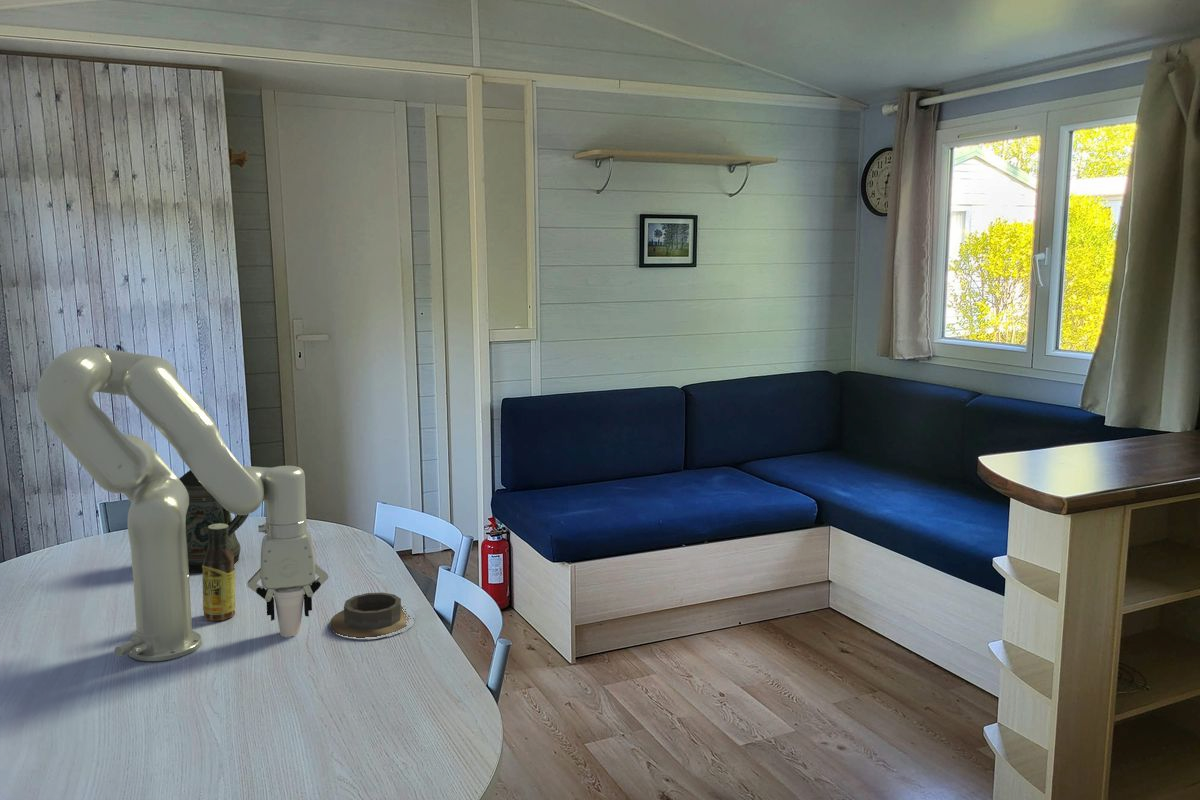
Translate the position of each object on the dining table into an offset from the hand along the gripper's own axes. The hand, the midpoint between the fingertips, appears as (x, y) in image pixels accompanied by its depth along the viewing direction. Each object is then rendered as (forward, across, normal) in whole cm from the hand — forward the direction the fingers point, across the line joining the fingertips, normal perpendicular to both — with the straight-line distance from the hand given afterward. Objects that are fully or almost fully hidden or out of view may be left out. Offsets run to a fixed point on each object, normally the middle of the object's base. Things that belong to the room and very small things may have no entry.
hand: (289, 615), depth 178 cm
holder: (+4, +16, 0) cm, 17 cm away
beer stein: (+4, -17, +52) cm, 54 cm away
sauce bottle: (+4, -14, +14) cm, 20 cm away
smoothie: (+4, 0, 0) cm, 4 cm away
